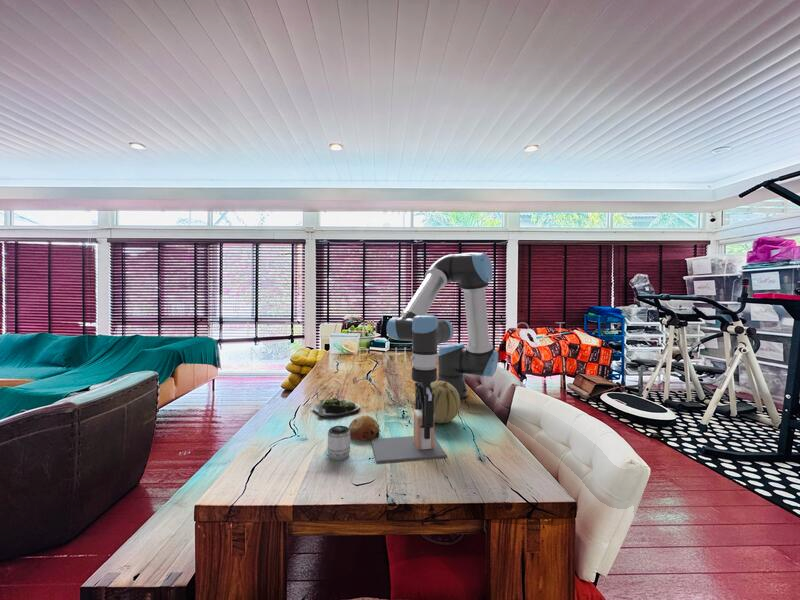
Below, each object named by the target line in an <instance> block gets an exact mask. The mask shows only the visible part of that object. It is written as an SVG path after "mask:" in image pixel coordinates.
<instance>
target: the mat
mask: <svg viewBox="0 0 800 600" xmlns="http://www.w3.org/2000/svg"><path fill="white" fill-rule="evenodd" d="M370 443H371V445H372V451H373V454H374V458H375V463H376V464H380V463H382V464H383V463H392V462H393V463H395V462H405V461H414V460H415V461H416V460H428V459H439V458H440V459H441V458H447V457H448V454H447V453H446V451H445V450H444V448H443V447H442V445H441V444H440V443H439V441H438V440H437V439H436V437H435V436H434V449H421V450H417V448H416V446H415V444H414V435H410V436H394V437H393V436H392V437H382V438H381V437H379V438H378V437H377V438H376V439H371V442H370Z"/></svg>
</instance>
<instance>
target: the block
mask: <svg viewBox="0 0 800 600" xmlns="http://www.w3.org/2000/svg"><path fill="white" fill-rule="evenodd" d="M422 425H423V423H422V409H421V410H415V409H413V436H414V444H415V446H416V448H417V450H421V428H420V426H422ZM434 437H435V426H434V427H433V428H431V449H434Z"/></svg>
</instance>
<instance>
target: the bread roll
mask: <svg viewBox="0 0 800 600" xmlns="http://www.w3.org/2000/svg"><path fill="white" fill-rule="evenodd" d="M348 428H349V429H350V440H351V439H352V440H355V441H358V442H370V441H371V439H378V437H379V436H380V432H381V429H380V424H379V422H377V420H376V419H375V418H374V417H372V416H370V415H365V414H364V415H360V416H358V417H357V416H356V418H354V419H353V420H352V421H351V422H350V424H349V425H348Z"/></svg>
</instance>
